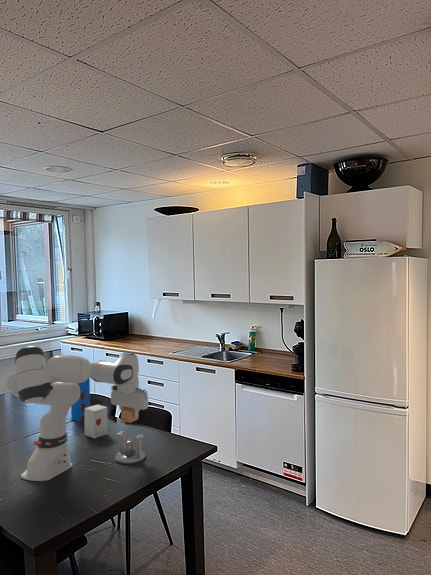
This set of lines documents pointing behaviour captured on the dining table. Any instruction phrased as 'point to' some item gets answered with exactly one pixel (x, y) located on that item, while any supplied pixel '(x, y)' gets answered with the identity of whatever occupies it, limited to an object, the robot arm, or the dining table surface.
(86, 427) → the supplement box
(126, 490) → the dining table surface
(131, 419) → the orange lumpy block
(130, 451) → the pronged peg stand
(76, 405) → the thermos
